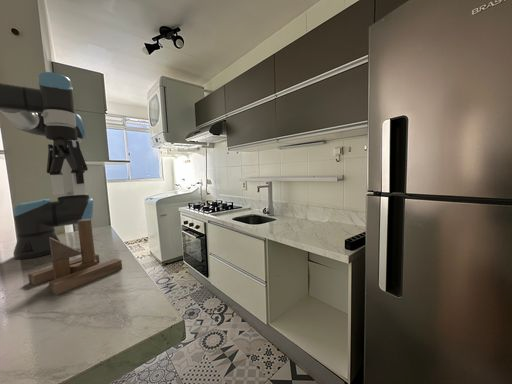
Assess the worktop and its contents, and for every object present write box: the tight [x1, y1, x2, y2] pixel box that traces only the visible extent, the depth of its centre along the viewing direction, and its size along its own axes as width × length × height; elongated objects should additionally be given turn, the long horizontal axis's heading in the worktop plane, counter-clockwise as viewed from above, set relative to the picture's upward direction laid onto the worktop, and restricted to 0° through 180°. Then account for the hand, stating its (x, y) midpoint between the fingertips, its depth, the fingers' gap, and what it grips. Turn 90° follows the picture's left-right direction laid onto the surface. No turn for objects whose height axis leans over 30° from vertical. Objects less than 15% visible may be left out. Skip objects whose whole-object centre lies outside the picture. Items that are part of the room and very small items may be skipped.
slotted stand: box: [27, 253, 123, 296], centre depth 71 cm, size 18×18×3 cm
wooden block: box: [49, 219, 99, 280], centre depth 70 cm, size 4×11×18 cm, turn 140°
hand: (69, 194), depth 69 cm, fingers open, 13 cm apart
